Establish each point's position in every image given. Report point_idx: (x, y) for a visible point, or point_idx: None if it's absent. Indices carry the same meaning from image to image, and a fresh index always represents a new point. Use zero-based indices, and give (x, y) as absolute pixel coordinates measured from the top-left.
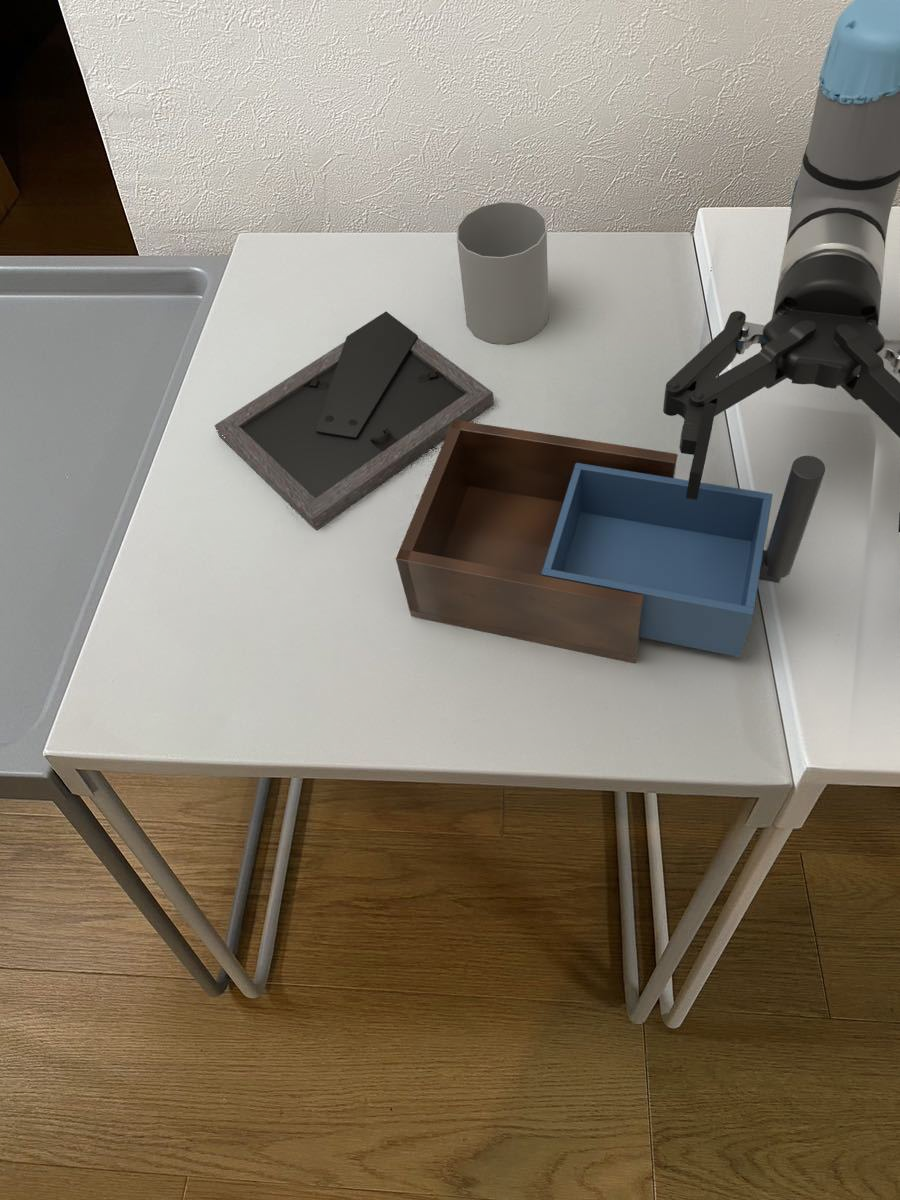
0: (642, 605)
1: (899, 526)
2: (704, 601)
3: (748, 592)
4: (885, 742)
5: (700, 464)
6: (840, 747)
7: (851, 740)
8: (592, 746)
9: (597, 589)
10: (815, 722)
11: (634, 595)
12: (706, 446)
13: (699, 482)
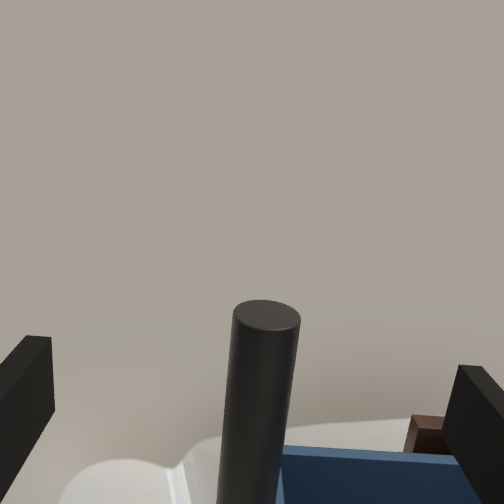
0: (412, 433)
1: (51, 411)
2: (337, 453)
3: (280, 473)
4: (69, 486)
5: (476, 379)
6: (124, 474)
7: (110, 482)
8: (374, 441)
9: None
10: (150, 496)
11: (430, 425)
12: (501, 415)
13: (453, 388)
